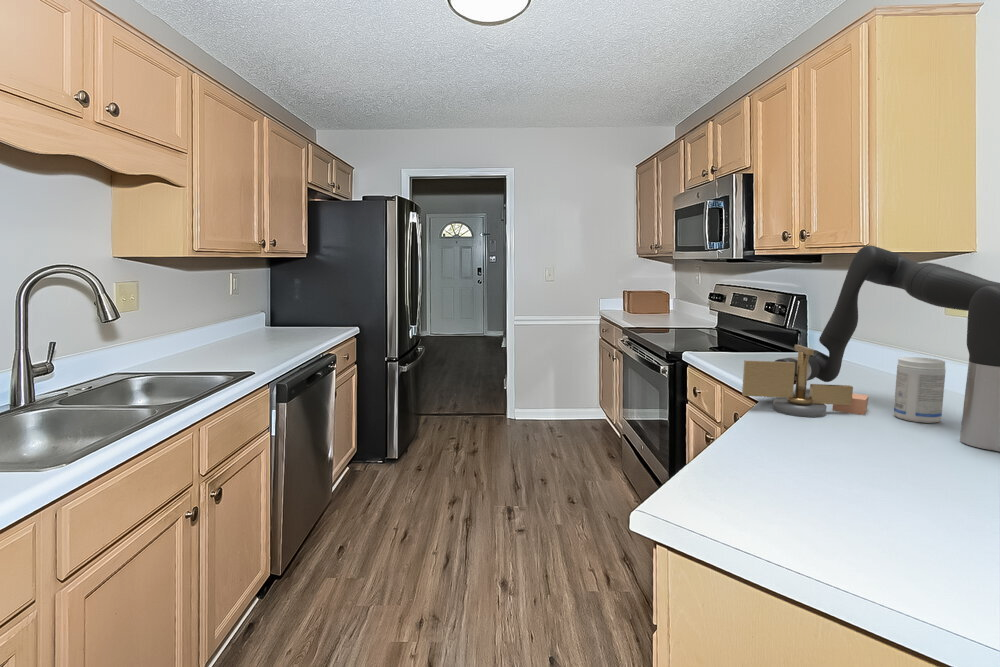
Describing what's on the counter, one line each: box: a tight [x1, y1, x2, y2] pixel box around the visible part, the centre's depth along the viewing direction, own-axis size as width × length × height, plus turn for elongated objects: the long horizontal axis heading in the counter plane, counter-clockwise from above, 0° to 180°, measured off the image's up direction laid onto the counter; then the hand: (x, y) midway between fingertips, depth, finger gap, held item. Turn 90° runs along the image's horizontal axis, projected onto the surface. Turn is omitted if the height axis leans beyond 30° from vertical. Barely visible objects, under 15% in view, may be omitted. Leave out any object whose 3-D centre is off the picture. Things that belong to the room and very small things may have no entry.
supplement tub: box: [893, 356, 946, 424], centre depth 141 cm, size 10×10×15 cm
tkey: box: [741, 344, 854, 405], centre depth 146 cm, size 26×9×14 cm, turn 83°
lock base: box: [772, 397, 827, 418], centre depth 147 cm, size 12×12×2 cm
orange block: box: [832, 392, 869, 416], centre depth 149 cm, size 7×7×4 cm
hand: (755, 378), depth 149 cm, fingers closed
